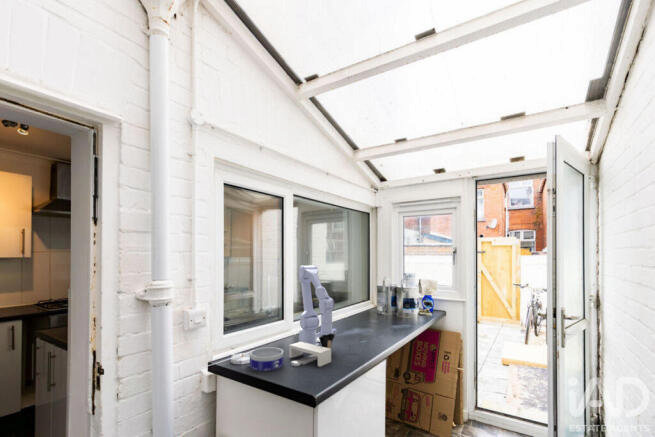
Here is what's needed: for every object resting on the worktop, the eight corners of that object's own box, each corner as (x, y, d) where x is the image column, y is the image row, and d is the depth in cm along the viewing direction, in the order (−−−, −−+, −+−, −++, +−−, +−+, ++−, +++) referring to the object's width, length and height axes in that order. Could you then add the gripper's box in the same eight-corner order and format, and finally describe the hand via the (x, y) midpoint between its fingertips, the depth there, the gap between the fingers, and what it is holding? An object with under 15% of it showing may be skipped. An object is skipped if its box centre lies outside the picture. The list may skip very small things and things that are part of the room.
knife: (311, 329, 216) (323, 329, 216) (311, 331, 216) (323, 331, 215) (307, 339, 186) (320, 339, 186) (307, 342, 186) (320, 342, 186)
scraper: (296, 362, 152) (296, 348, 152) (324, 351, 168) (324, 338, 169) (303, 364, 149) (303, 350, 149) (331, 353, 165) (331, 340, 166)
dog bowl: (268, 373, 138) (269, 359, 139) (242, 367, 145) (242, 353, 146) (289, 363, 151) (290, 350, 152) (264, 358, 159) (264, 345, 159)
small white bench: (289, 357, 159) (289, 344, 159) (300, 353, 165) (300, 341, 166) (320, 366, 146) (320, 352, 147) (331, 362, 152) (331, 348, 153)
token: (289, 365, 148) (289, 361, 149) (296, 362, 152) (296, 359, 152) (295, 367, 145) (295, 364, 146) (303, 365, 149) (303, 361, 149)
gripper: (323, 325, 159) (323, 354, 158) (341, 321, 170) (341, 347, 169) (312, 323, 163) (312, 351, 162) (330, 319, 175) (330, 345, 173)
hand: (326, 349), depth 166 cm, fingers closed on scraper, 2 cm apart
